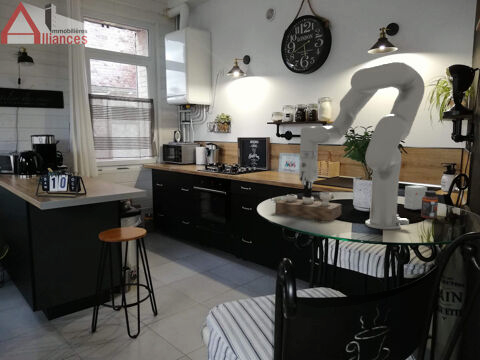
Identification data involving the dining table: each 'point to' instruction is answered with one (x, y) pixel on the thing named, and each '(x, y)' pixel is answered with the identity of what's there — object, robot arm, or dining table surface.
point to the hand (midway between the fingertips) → (307, 196)
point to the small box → (414, 196)
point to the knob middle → (308, 200)
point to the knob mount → (309, 209)
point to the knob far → (291, 198)
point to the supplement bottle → (429, 205)
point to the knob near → (325, 198)
